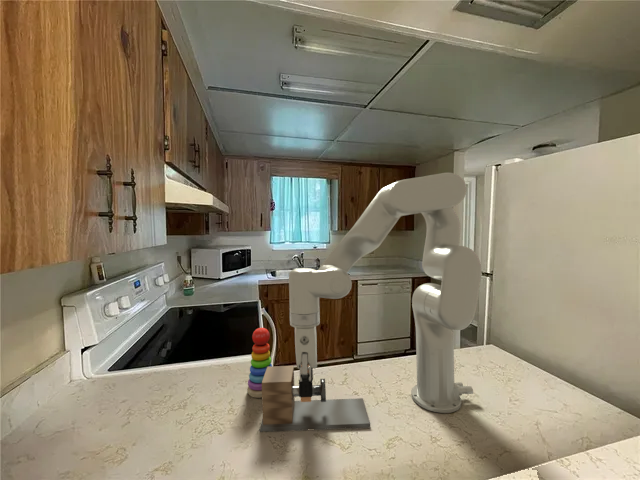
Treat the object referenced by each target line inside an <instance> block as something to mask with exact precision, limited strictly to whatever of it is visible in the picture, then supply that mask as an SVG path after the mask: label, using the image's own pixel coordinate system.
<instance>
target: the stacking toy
mask: <svg viewBox="0 0 640 480" xmlns="http://www.w3.org/2000/svg"><path fill="white" fill-rule="evenodd" d="M251 338H252V342H253V343H254V344H253V346H252V348H251V349H252V352H251V354H250V355H251V360H250V367H249V372H250V373H249V374H248V380H247V388H246V389H247V390H246V391H247V394H248V395H249V396H250V397H252V398H256V399H257V398H258V399H260V398H261V399H262V380H263V378H264V375H265V372H266V369H267V367H272V366H273V365H272V357H271V351H270V347H271V346H270V344H269V343H268V342H269V340H270V332H269V329H267V328H265V327H258V328H256V329H255V330H254V331H253V333H252V336H251Z"/></svg>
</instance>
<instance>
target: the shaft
mask: <svg viewBox="0 0 640 480" xmlns="http://www.w3.org/2000/svg"><path fill="white" fill-rule="evenodd" d="M319 380H320V381H319V383H320V384H312V388H313V396H312V397H317V396H318V397H320V400H321V402H326V400H327V397H326V395H327V394H326V393H327V390H326V388H327V387H326V378H320V379H319ZM292 395H293V397H295V398H296V397H299V385H294V386H293V387H292Z"/></svg>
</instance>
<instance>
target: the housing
mask: <svg viewBox="0 0 640 480" xmlns="http://www.w3.org/2000/svg"><path fill="white" fill-rule="evenodd" d="M294 366H295V365H279V366H278V365H277V366H274V365H272V367H267V369H266V372H265V375H264V378H263V380H262V397H261V400H262V401H261V404H262V406H261V407H262V411H261V412H262V419H261V422H260V427H259V432H260V433H263V432H262V431H271V432H282V431H281V430H296V431H309V430H308V429H314V431H315V430H317V431H320V430H341V429H366V428H367V429H368V428H371V420H370V418H369V415H368V414H369V413H368V410H367V407H366V404H365V401H364V398H363V397H362V398H360V397H359V398H339V399H338V398H337V399H336V398H334V399H333V398H332V399H326V402H321V399H315V400H314V399H311V402H301V400H296V399H295V398H296V397H293V395H292V387H293V386H295V367H294Z"/></svg>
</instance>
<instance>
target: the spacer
mask: <svg viewBox="0 0 640 480" xmlns="http://www.w3.org/2000/svg"><path fill="white" fill-rule="evenodd" d="M301 367H302V365H301ZM307 367H309V365H307ZM307 371H308V373H309V370H307ZM311 400H312V397H300V401H301V402H311Z"/></svg>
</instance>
